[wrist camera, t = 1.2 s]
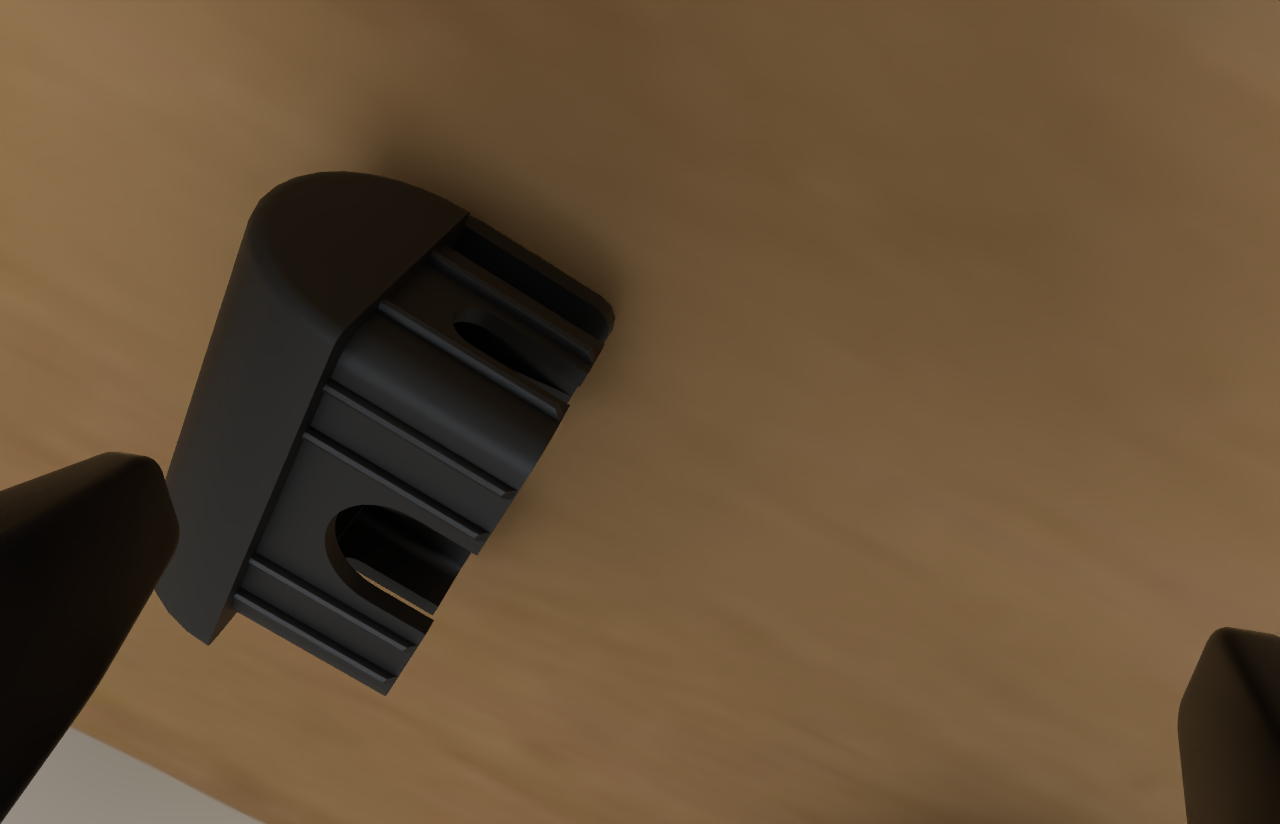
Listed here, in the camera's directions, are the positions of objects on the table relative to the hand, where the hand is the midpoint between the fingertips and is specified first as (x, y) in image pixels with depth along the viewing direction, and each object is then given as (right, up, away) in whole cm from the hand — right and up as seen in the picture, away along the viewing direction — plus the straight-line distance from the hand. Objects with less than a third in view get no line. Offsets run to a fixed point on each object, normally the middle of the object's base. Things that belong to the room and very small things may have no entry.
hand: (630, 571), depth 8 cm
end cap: (-5, +3, +17) cm, 18 cm away
